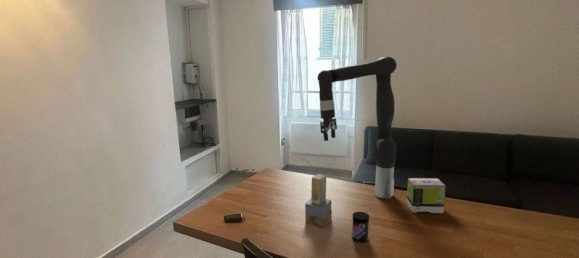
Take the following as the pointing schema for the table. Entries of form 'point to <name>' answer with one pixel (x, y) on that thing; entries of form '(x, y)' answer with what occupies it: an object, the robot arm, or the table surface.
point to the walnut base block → (318, 220)
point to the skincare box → (318, 189)
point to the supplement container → (360, 226)
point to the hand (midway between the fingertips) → (329, 139)
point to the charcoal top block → (318, 208)
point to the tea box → (426, 195)
